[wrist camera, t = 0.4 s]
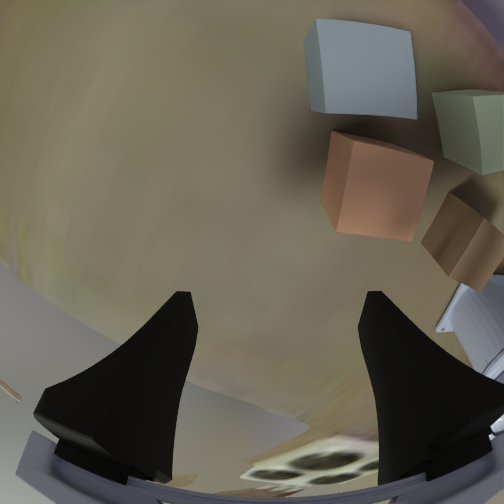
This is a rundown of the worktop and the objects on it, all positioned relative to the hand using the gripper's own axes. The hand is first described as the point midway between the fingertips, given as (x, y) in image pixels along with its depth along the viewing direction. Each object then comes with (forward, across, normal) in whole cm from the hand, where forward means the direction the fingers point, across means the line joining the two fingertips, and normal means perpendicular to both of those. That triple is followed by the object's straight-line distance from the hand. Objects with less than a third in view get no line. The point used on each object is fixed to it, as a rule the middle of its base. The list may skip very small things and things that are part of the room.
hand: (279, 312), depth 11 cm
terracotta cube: (+10, -6, -3) cm, 12 cm away
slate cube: (+10, -5, -10) cm, 15 cm away
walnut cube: (+10, -16, +1) cm, 18 cm away
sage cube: (+10, -14, -8) cm, 20 cm away
